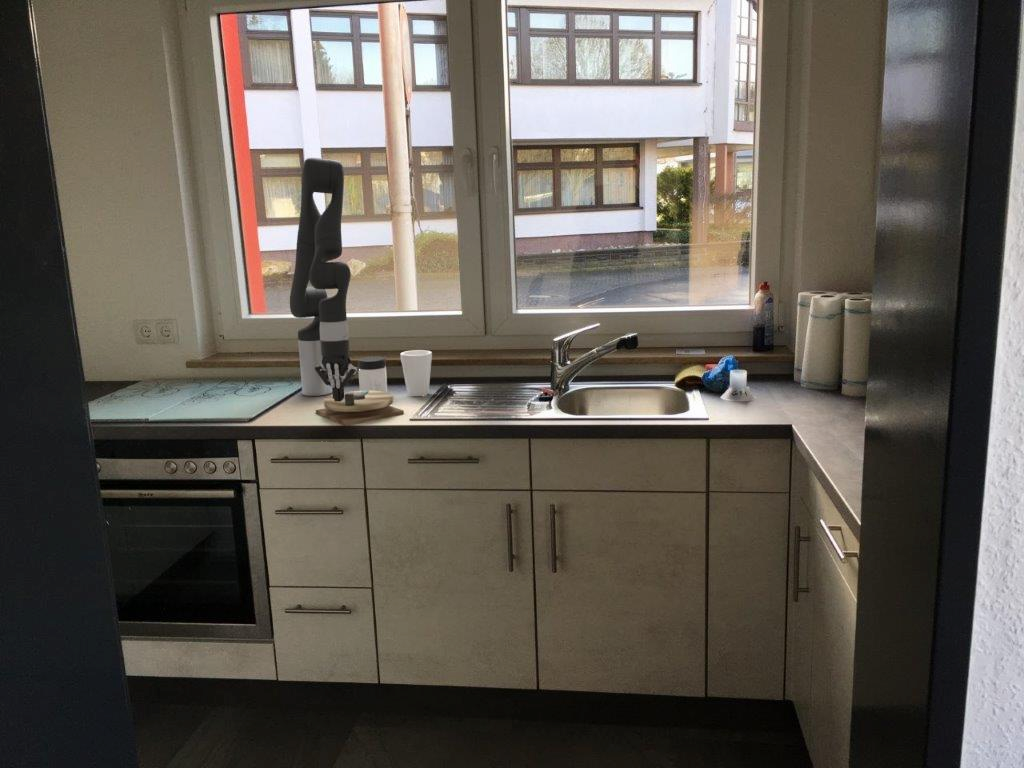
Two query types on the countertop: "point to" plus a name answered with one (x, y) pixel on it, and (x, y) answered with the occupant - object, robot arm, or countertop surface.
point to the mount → (359, 415)
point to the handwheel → (359, 401)
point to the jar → (372, 374)
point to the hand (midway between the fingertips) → (338, 400)
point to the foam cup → (416, 371)
